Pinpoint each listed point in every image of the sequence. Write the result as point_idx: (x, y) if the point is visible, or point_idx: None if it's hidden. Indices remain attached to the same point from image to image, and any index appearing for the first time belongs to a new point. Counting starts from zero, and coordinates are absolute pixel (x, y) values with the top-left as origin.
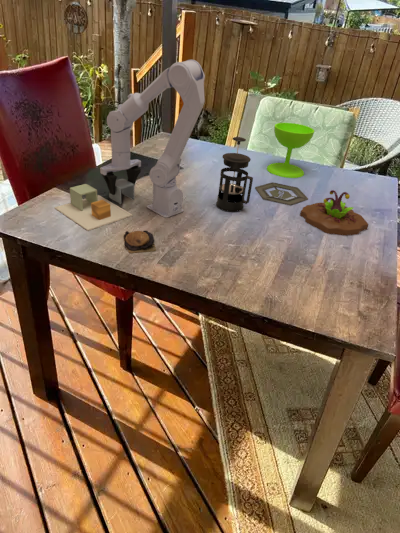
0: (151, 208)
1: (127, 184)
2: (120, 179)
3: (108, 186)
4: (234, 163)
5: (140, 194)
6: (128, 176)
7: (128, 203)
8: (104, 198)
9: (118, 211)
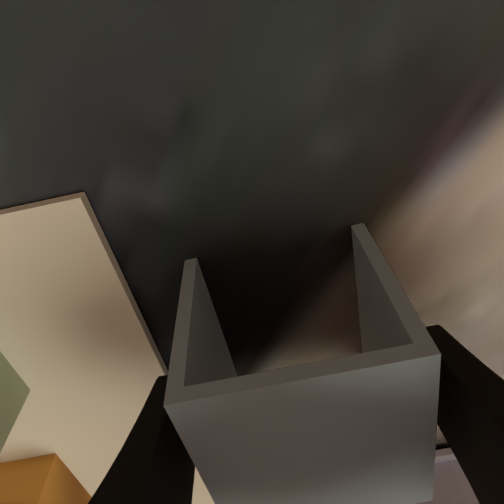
0: None
1: (359, 492)
2: (379, 376)
3: (132, 450)
4: None
5: (490, 290)
6: (501, 455)
7: None
8: (122, 290)
9: None
